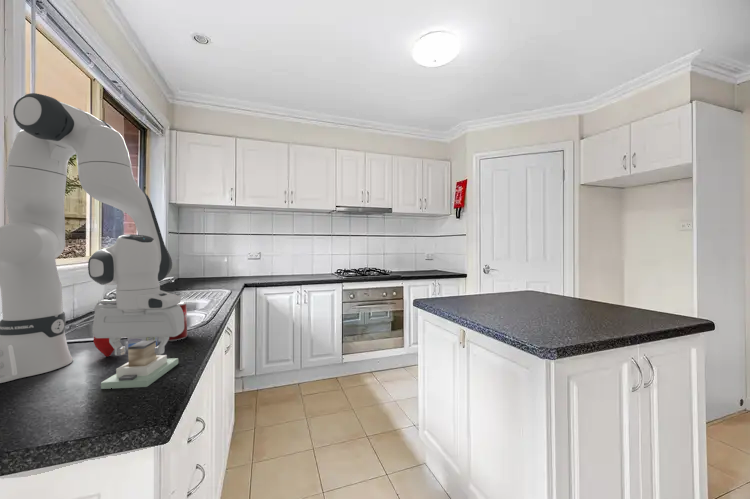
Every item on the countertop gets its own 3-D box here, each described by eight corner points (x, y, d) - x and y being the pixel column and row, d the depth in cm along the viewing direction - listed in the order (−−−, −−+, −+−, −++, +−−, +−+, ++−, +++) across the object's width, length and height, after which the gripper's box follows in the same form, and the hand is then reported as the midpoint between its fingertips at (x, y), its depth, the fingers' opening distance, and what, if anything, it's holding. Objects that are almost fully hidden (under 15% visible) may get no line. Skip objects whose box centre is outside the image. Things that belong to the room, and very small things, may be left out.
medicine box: (127, 349, 100) (126, 322, 100) (131, 345, 104) (130, 319, 104) (157, 346, 103) (156, 319, 103) (160, 342, 107) (159, 316, 107)
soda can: (191, 337, 112) (190, 303, 112) (169, 343, 106) (168, 307, 106) (180, 334, 116) (179, 301, 116) (158, 339, 110) (157, 305, 110)
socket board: (101, 389, 74) (100, 374, 74) (140, 365, 88) (139, 352, 88) (146, 386, 75) (146, 372, 74) (178, 363, 88) (178, 351, 88)
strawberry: (94, 362, 90) (93, 327, 89) (93, 355, 95) (92, 322, 95) (121, 357, 94) (120, 323, 93) (119, 350, 99) (117, 319, 99)
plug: (129, 373, 79) (128, 347, 78) (142, 365, 84) (141, 340, 83) (144, 372, 79) (143, 346, 79) (156, 364, 84) (155, 340, 84)
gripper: (84, 302, 76) (85, 359, 77) (173, 301, 78) (174, 357, 78) (104, 297, 82) (106, 350, 83) (187, 296, 84) (188, 348, 84)
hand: (140, 354), depth 80 cm, fingers open, 8 cm apart
